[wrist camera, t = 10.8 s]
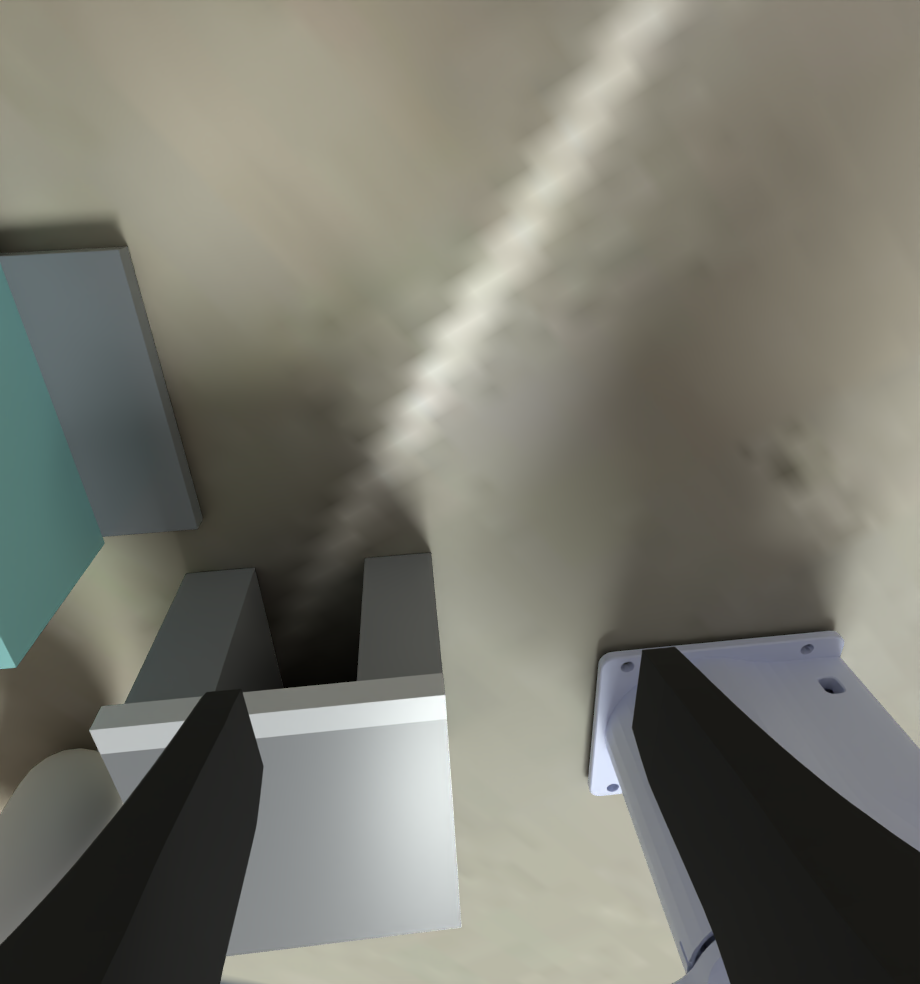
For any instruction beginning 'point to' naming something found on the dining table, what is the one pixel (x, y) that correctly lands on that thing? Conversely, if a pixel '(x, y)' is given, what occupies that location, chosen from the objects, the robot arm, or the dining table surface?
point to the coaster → (106, 385)
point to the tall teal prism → (35, 497)
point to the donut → (50, 828)
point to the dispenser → (316, 758)
